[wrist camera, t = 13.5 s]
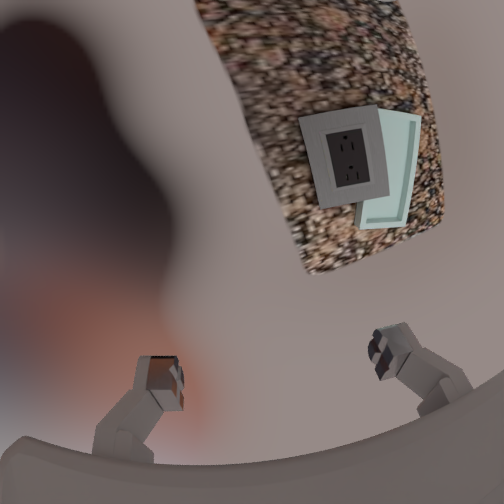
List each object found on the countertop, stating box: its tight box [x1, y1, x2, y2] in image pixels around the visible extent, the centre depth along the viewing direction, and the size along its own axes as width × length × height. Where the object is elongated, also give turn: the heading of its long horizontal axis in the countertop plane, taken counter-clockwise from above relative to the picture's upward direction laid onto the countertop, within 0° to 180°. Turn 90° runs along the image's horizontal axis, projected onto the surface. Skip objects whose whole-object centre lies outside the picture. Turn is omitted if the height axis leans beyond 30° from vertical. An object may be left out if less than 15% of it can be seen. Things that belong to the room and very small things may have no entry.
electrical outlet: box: [298, 104, 390, 209], centre depth 34 cm, size 13×10×2 cm
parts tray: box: [354, 108, 421, 230], centre depth 36 cm, size 18×9×2 cm, turn 2°
